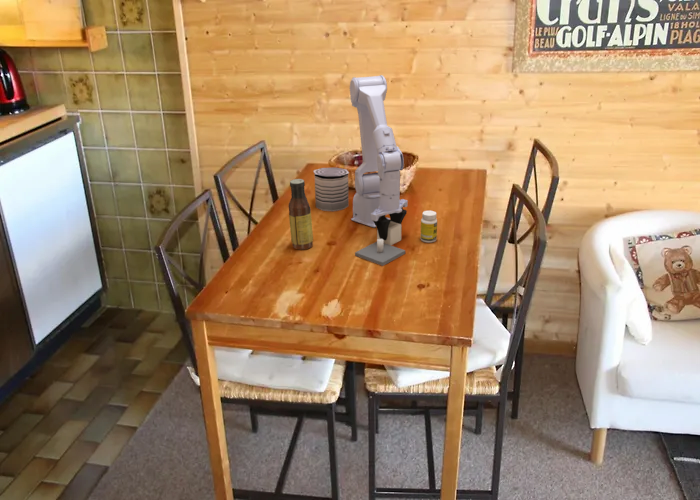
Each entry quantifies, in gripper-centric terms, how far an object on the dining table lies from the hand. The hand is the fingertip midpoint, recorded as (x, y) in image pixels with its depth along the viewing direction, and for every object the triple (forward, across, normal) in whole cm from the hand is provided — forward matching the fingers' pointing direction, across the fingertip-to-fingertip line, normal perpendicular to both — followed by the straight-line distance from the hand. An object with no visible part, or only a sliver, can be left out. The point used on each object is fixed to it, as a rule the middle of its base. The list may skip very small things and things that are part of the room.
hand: (389, 236), depth 207 cm
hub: (+1, 0, 0) cm, 1 cm away
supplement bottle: (+2, +8, -8) cm, 12 cm away
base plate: (+1, -9, -4) cm, 10 cm away
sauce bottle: (+2, -19, +17) cm, 26 cm away
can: (+2, +10, +32) cm, 34 cm away
